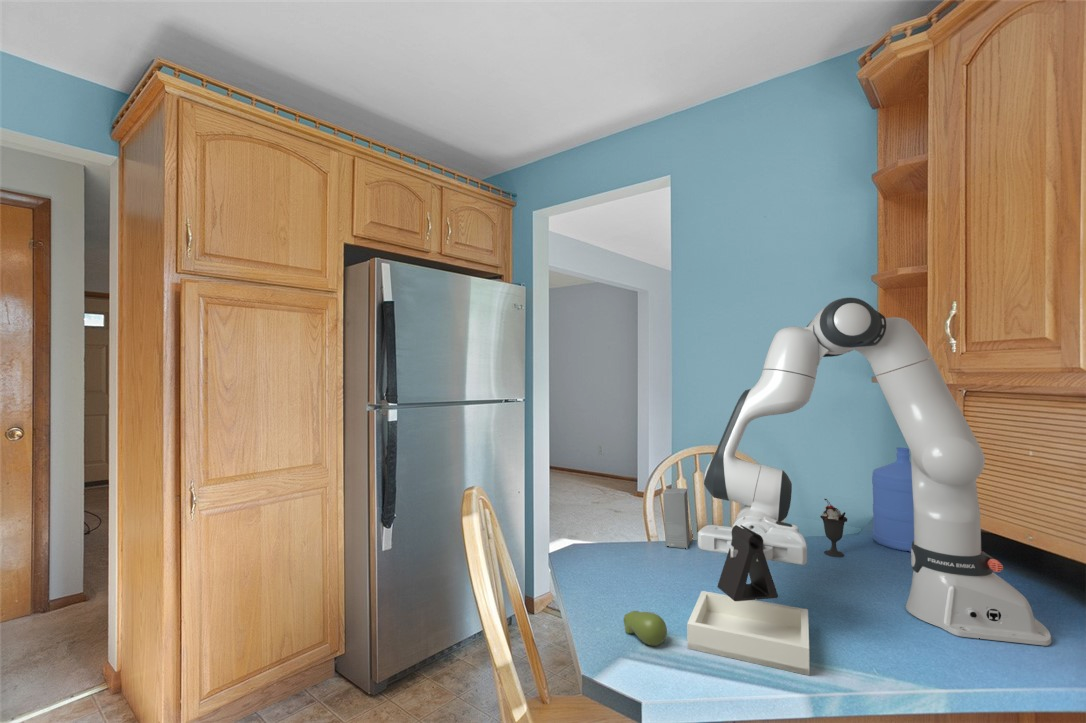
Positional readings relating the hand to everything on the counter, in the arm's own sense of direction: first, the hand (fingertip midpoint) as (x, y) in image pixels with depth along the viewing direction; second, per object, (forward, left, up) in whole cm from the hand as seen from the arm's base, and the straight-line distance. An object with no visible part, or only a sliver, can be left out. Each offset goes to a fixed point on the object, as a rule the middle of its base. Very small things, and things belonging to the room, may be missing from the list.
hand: (747, 556), depth 99 cm
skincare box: (+24, -51, -16) cm, 59 cm away
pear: (+18, +7, -16) cm, 25 cm away
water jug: (-36, -79, -16) cm, 88 cm away
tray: (0, -1, -16) cm, 16 cm away
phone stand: (0, -1, -7) cm, 8 cm away
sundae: (-17, -61, -16) cm, 65 cm away
